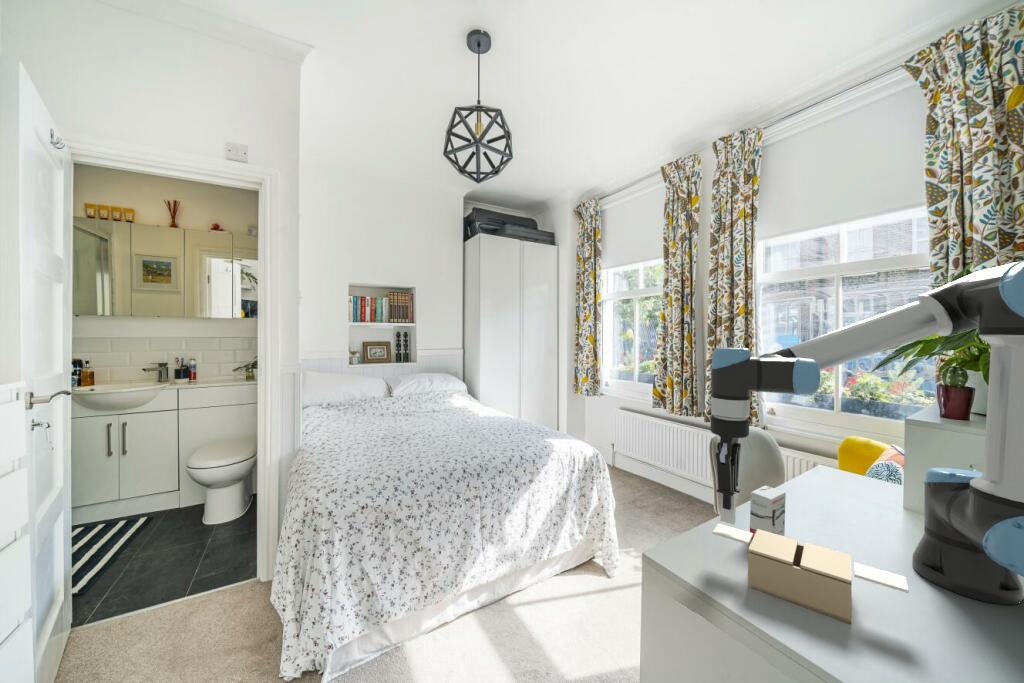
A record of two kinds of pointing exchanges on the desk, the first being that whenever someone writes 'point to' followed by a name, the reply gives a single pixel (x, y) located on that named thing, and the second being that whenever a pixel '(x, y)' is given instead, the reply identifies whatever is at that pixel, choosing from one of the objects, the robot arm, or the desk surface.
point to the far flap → (762, 542)
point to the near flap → (847, 567)
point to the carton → (800, 585)
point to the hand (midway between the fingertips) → (727, 521)
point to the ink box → (767, 510)
